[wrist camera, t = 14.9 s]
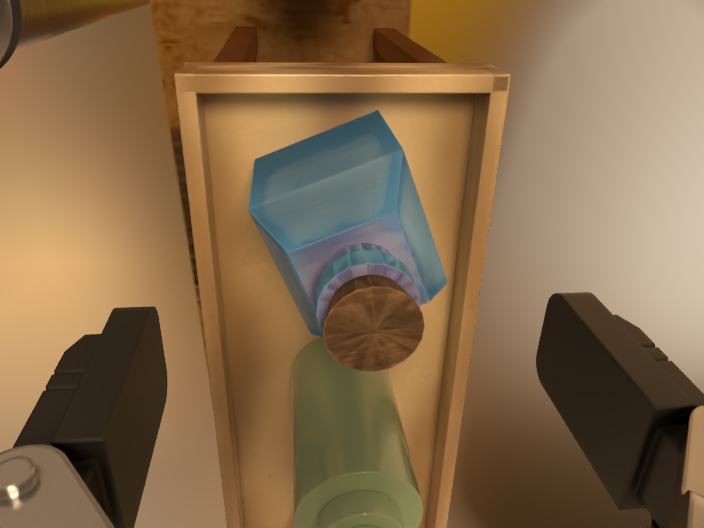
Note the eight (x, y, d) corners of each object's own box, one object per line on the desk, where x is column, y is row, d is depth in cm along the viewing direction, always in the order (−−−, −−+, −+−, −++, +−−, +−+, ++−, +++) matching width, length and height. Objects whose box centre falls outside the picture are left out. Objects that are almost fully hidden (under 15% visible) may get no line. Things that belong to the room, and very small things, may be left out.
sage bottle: (291, 412, 35) (297, 651, 23) (288, 334, 32) (293, 559, 20) (384, 406, 35) (437, 638, 23) (389, 330, 33) (451, 545, 21)
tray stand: (252, 367, 61) (235, 598, 39) (226, 16, 45) (173, 73, 23) (383, 360, 62) (439, 580, 41) (403, 19, 47) (511, 74, 25)
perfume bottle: (378, 109, 27) (441, 208, 16) (417, 223, 30) (493, 369, 19) (254, 159, 27) (237, 286, 17) (305, 266, 30) (318, 432, 20)
